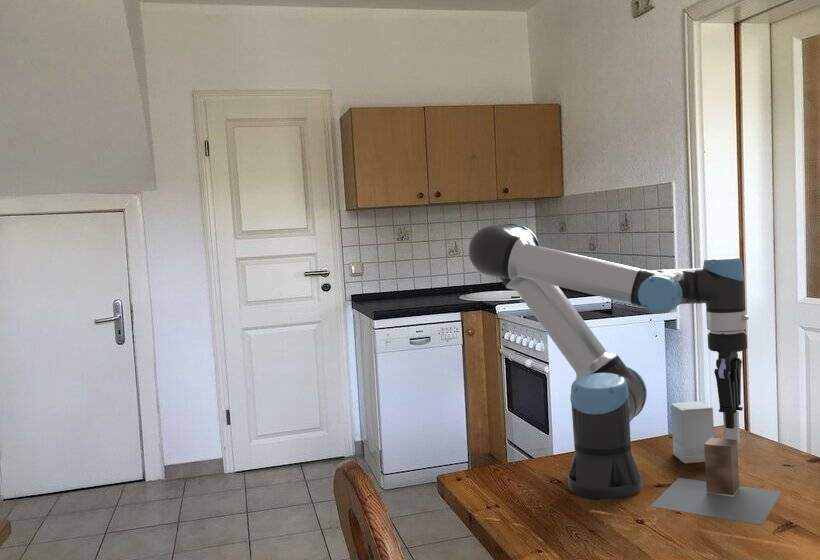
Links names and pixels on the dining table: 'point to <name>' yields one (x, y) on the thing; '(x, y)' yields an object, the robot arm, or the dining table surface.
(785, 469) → the dining table surface
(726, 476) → the walnut block
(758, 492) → the rubber mat
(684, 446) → the supplement box
